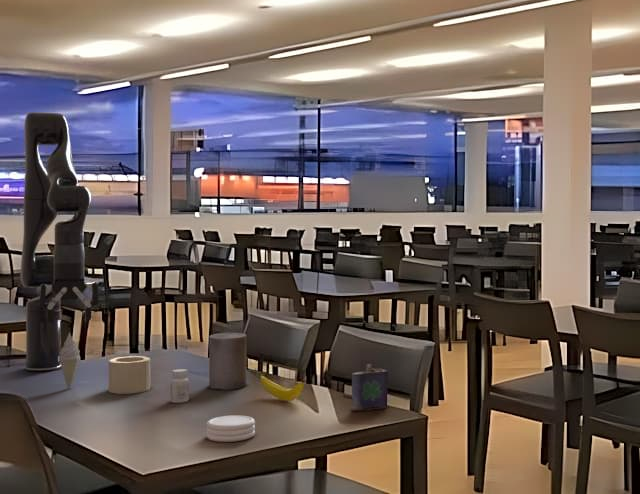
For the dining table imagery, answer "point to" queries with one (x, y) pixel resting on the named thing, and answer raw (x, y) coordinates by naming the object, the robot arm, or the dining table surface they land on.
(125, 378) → the hollow cream cylinder
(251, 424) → the coaster
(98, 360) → the dining table surface
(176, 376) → the pill bottle
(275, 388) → the banana
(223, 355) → the pillar candle
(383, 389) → the flask
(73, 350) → the grey tall pointed piece
